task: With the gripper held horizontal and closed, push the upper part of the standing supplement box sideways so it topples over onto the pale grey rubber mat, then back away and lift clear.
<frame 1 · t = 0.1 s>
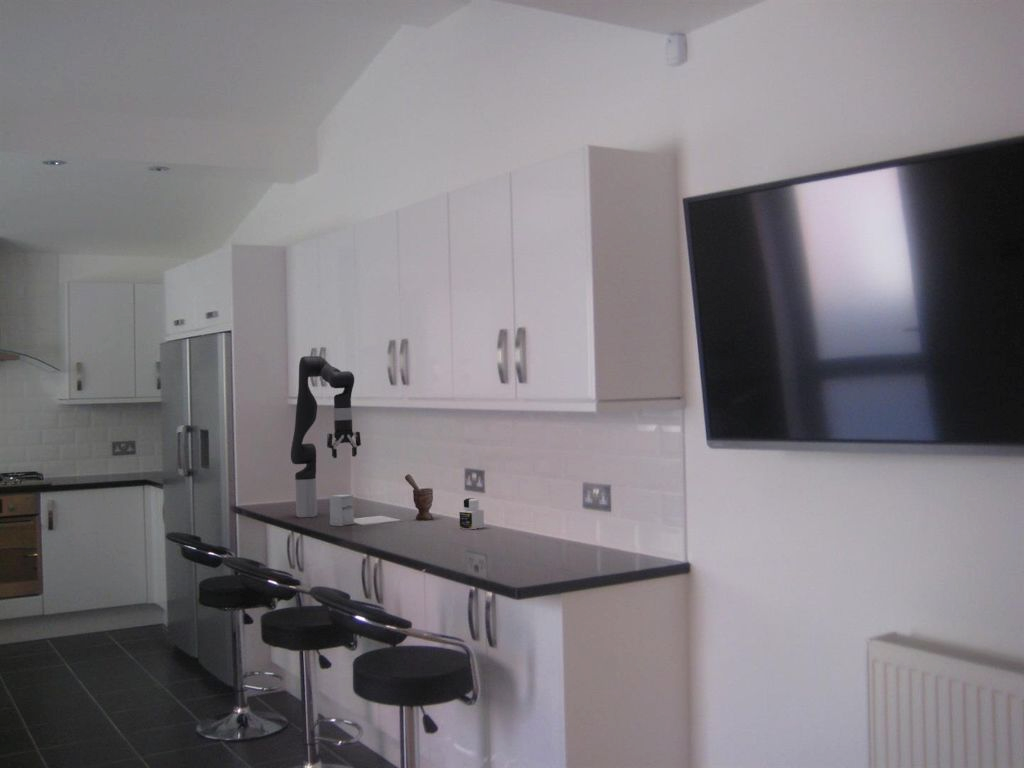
hand: (344, 457, 442), 29 cm above the worktop, tool pointing down, fingers open, 8 cm apart
medicine bottle: (472, 528, 426), on the worktop
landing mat: (372, 521, 456), on the worktop
mortar and pestle: (420, 520, 457), on the worktop
supplement box: (342, 525, 449), on the worktop
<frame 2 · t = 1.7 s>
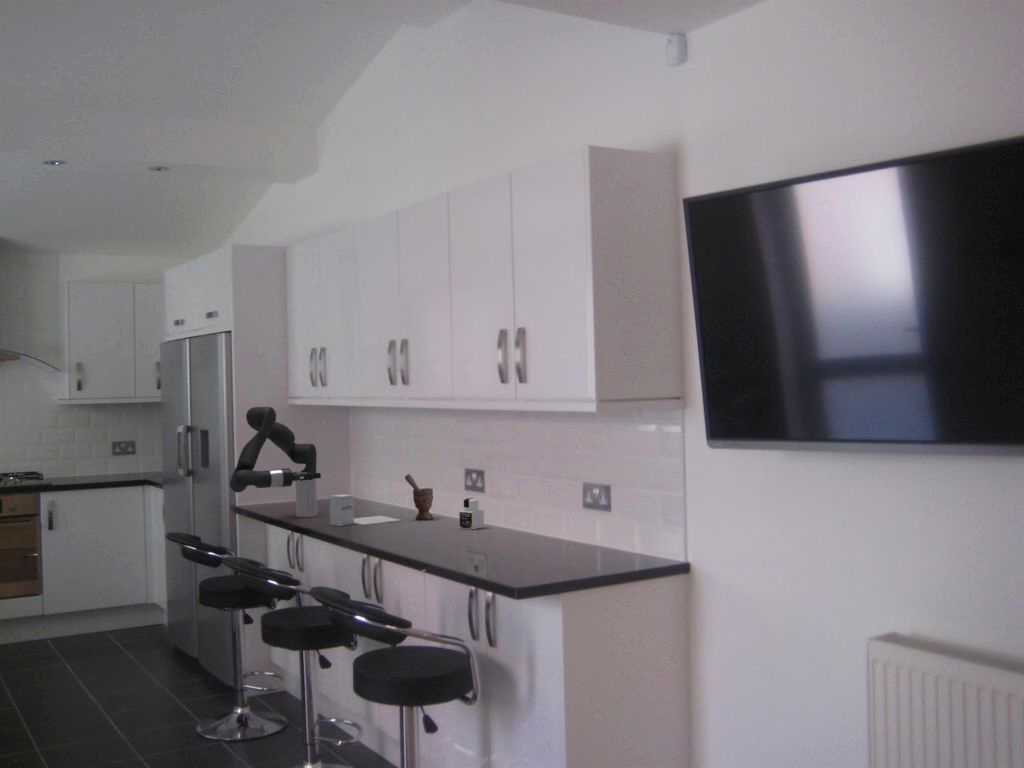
hand: (317, 474, 443), 22 cm above the worktop, tool horizontal, fingers open, 6 cm apart
nothing on the worktop moved.
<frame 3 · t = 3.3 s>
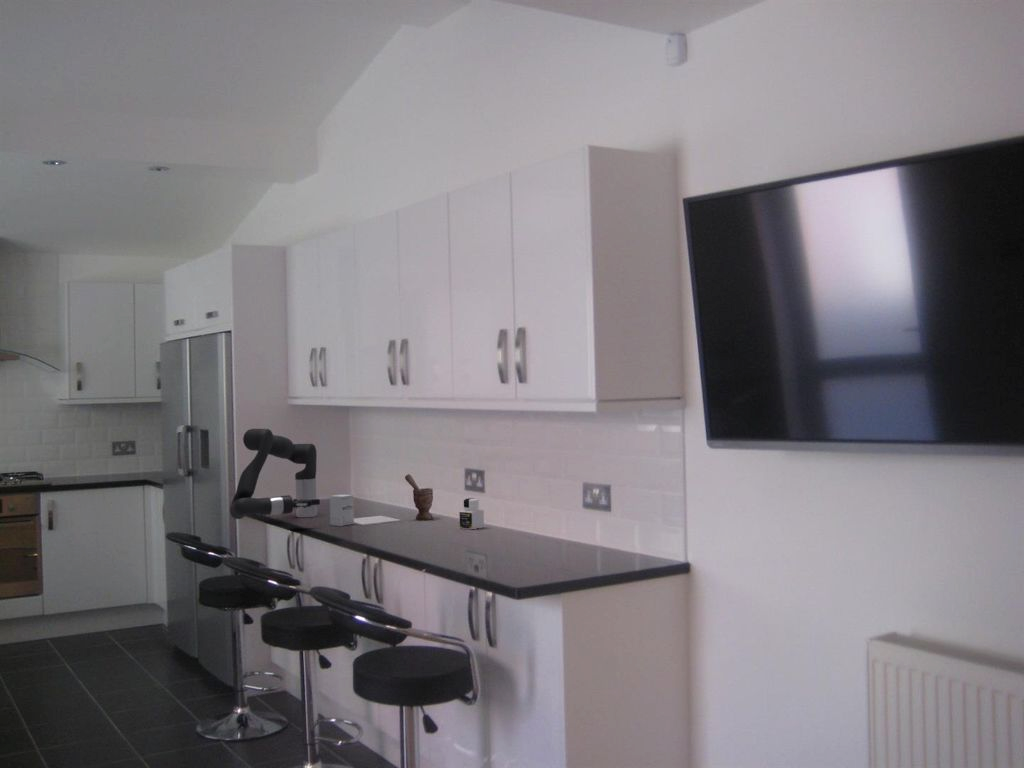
hand: (319, 501, 443), 11 cm above the worktop, tool horizontal, fingers closed
nothing on the worktop moved.
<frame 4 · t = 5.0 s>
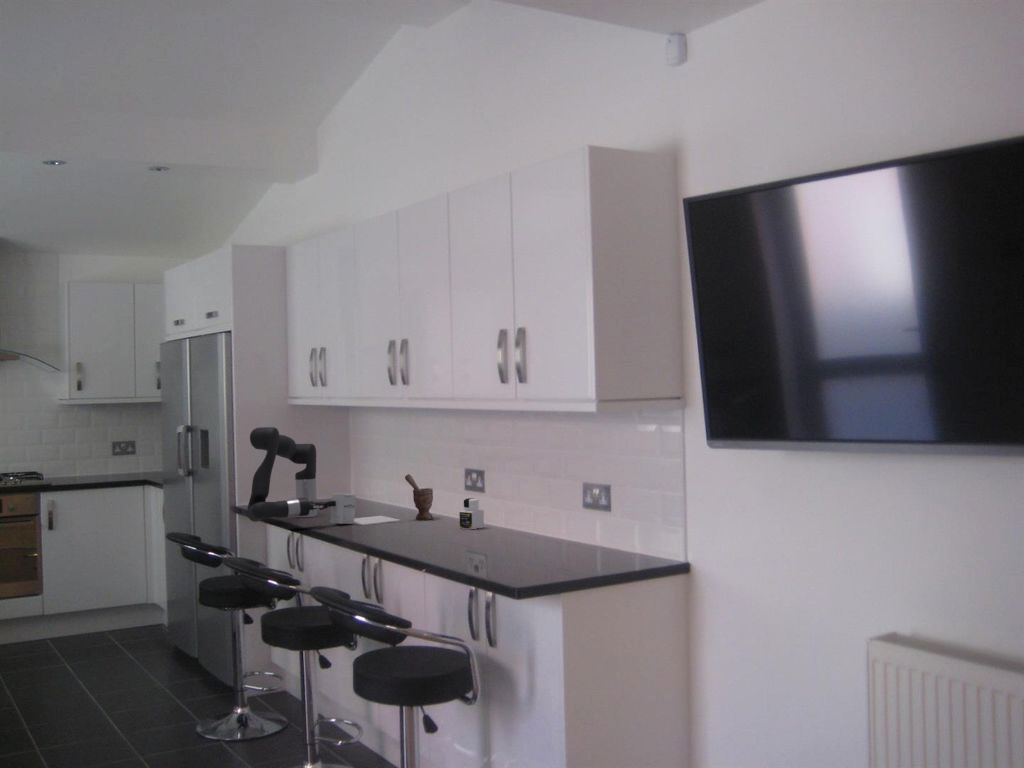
hand: (335, 503, 447), 9 cm above the worktop, tool horizontal, fingers closed
supplement box: (342, 523, 449), on the worktop, touching gripper
everything else where it was.
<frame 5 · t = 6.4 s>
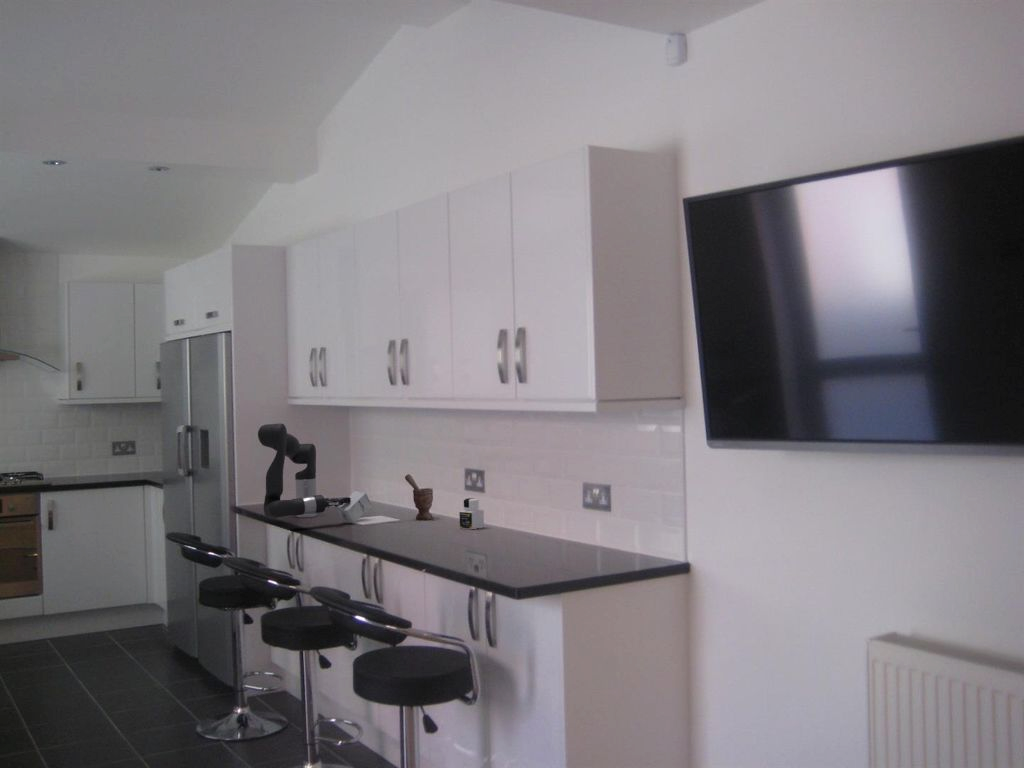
hand: (349, 499, 451), 10 cm above the worktop, tool horizontal, fingers closed
supplement box: (344, 516, 450), point 3 cm above the worktop, touching gripper, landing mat
everything else where it was.
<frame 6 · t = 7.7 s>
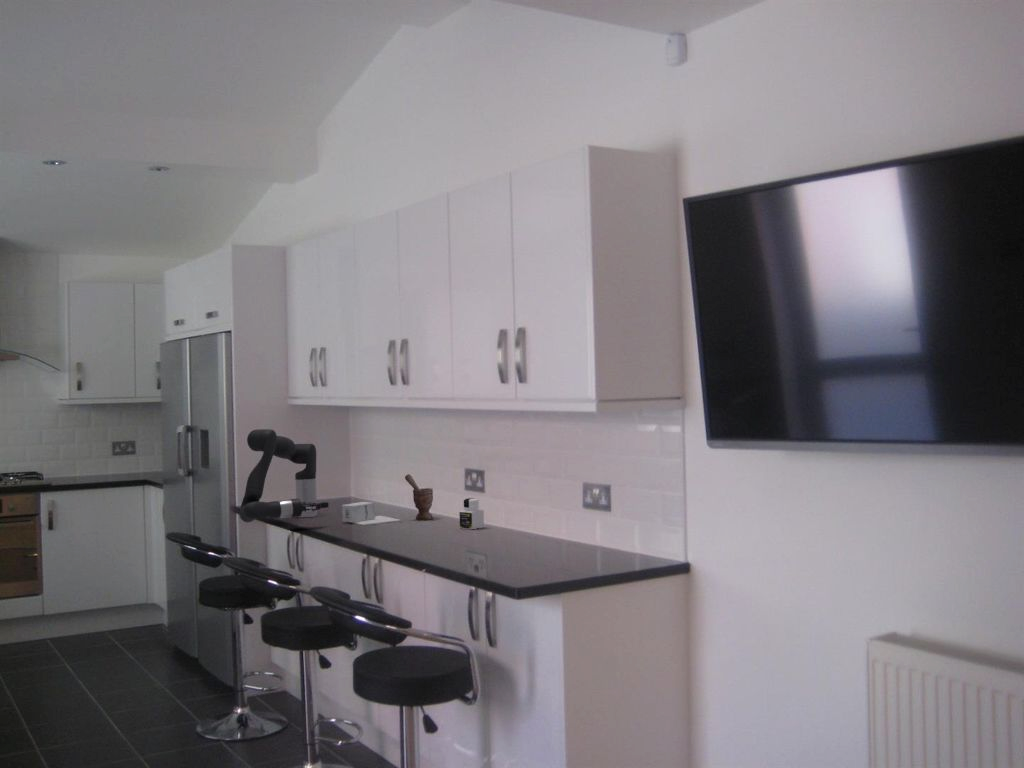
hand: (327, 504, 445), 9 cm above the worktop, tool horizontal, fingers closed
supplement box: (346, 514, 451), point 4 cm above the worktop, touching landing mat
everything else where it was.
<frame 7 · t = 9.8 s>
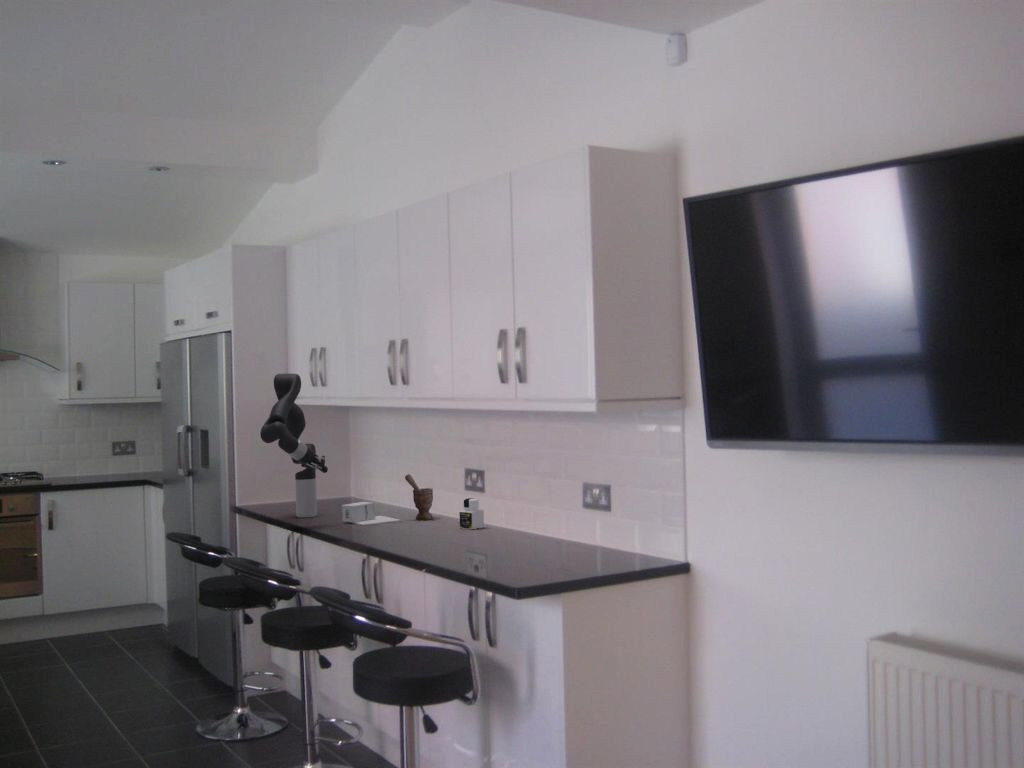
hand: (326, 470, 451), 23 cm above the worktop, tool tilted 55°, fingers closed
nothing on the worktop moved.
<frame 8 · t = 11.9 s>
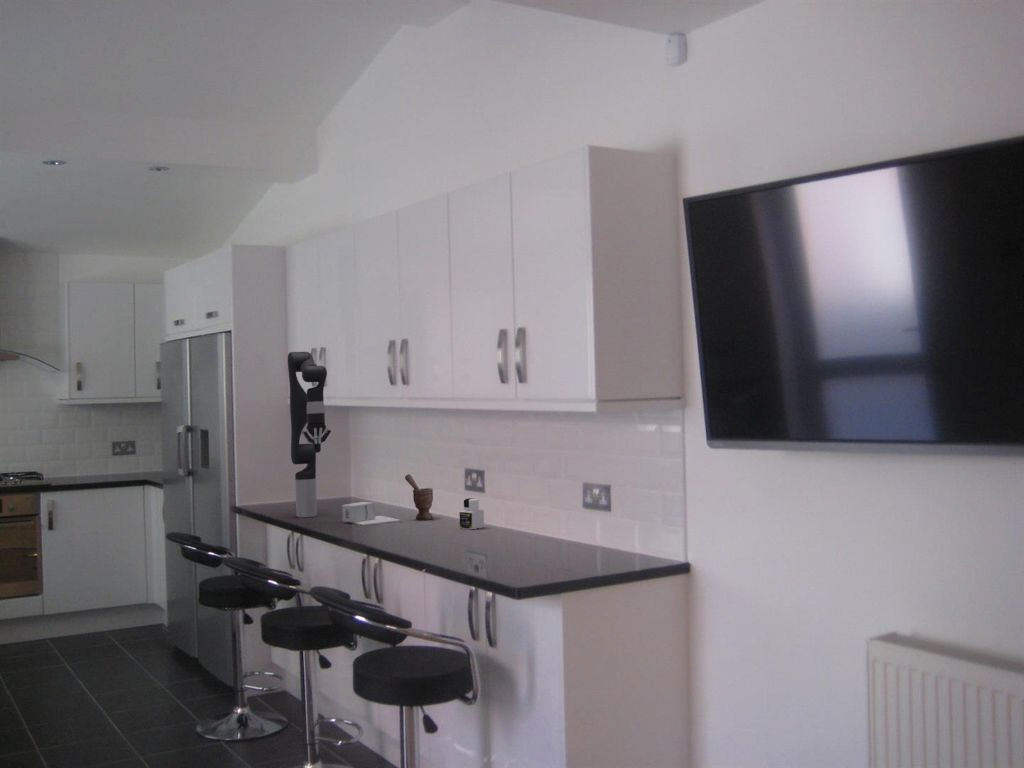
hand: (317, 452, 452), 31 cm above the worktop, tool pointing down, fingers closed
nothing on the worktop moved.
at the end: supplement box tilted 89°; supplement box touching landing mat; supplement box moved 5.2 cm from its start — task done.
